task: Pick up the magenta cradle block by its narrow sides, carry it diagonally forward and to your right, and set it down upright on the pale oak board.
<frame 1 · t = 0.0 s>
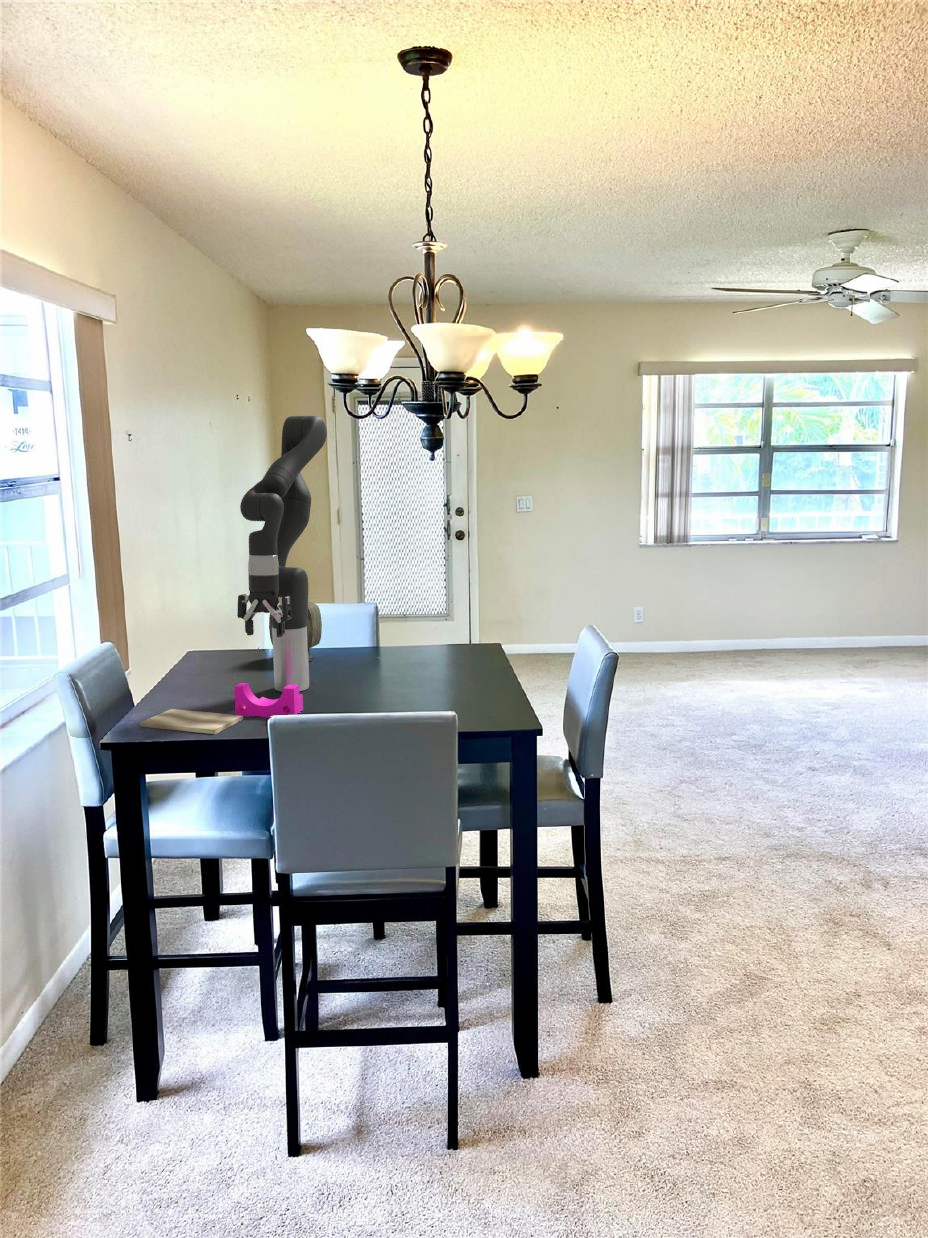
hand: (265, 635, 226), 17 cm above the table, tool pointing down, fingers open, 8 cm apart
tabletop clock: (297, 659, 278), on the table
oak board: (192, 723, 210), on the table
magenta cradle block: (269, 715, 218), on the table
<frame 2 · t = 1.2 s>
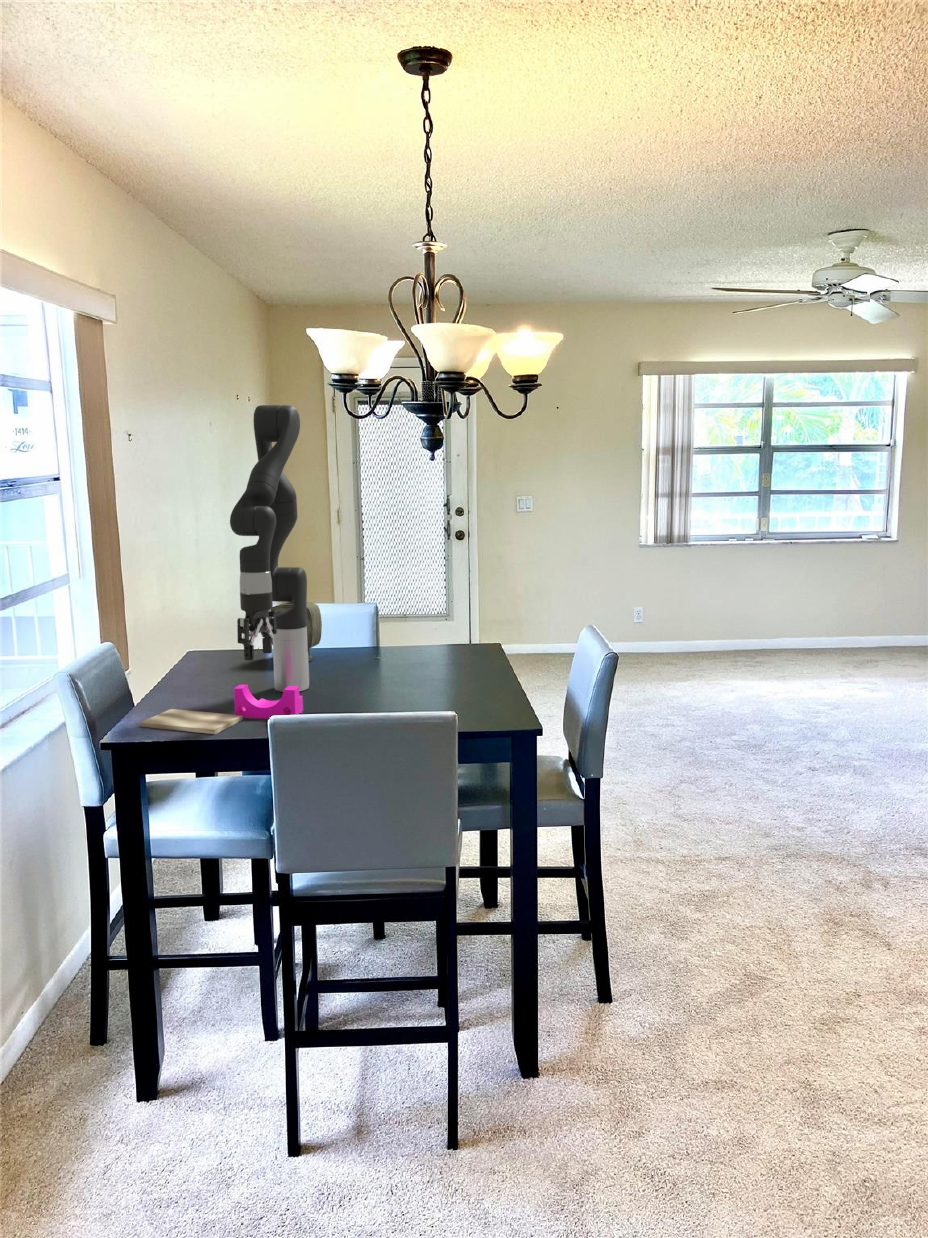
hand: (258, 656, 214), 15 cm above the table, tool pointing down, fingers open, 8 cm apart
magenta cradle block: (269, 716, 217), on the table
everything else where it was.
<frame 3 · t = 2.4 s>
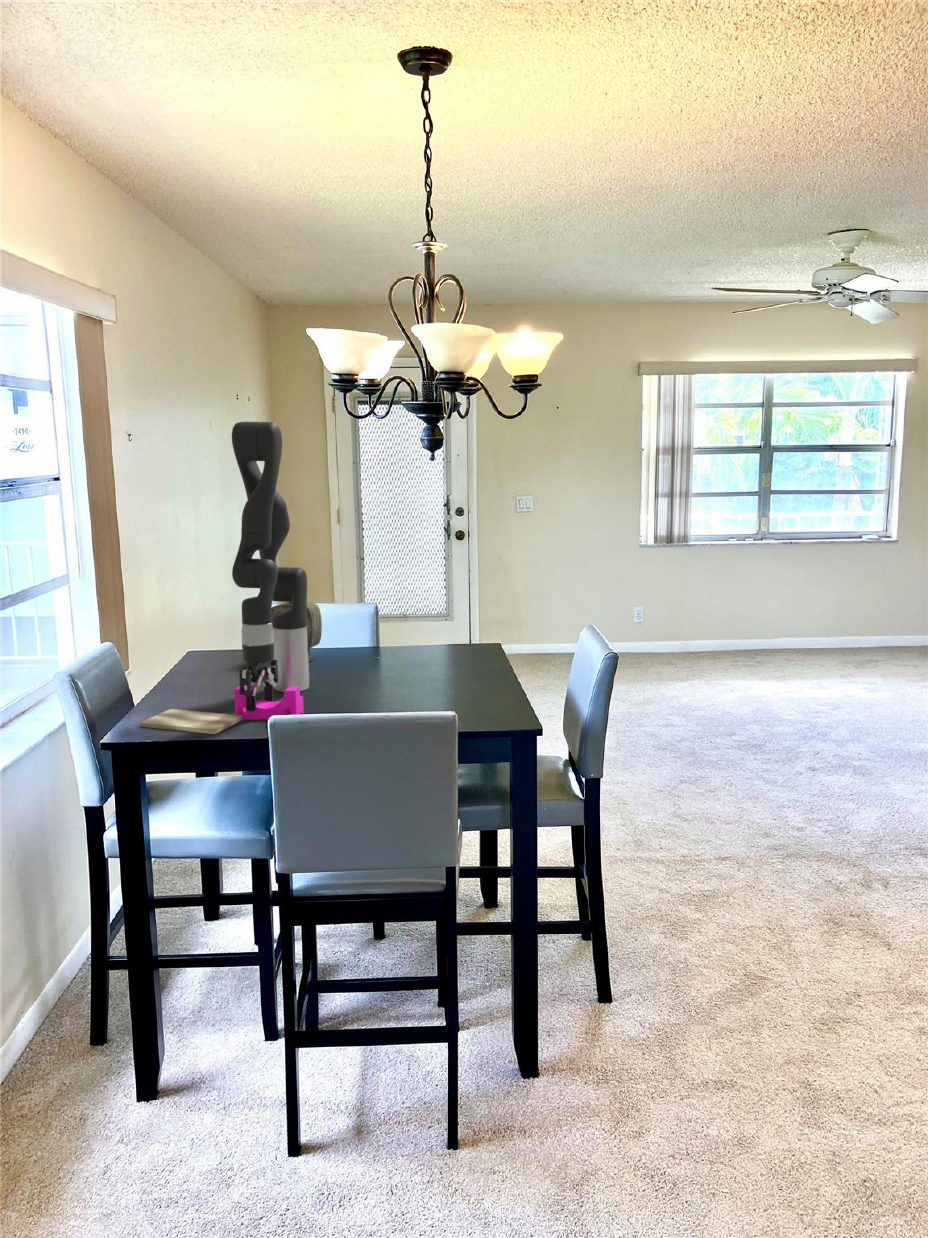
hand: (260, 706, 216), 2 cm above the table, tool pointing down, fingers open, 8 cm apart
magenta cradle block: (270, 717, 216), on the table, touching gripper
everything else where it was.
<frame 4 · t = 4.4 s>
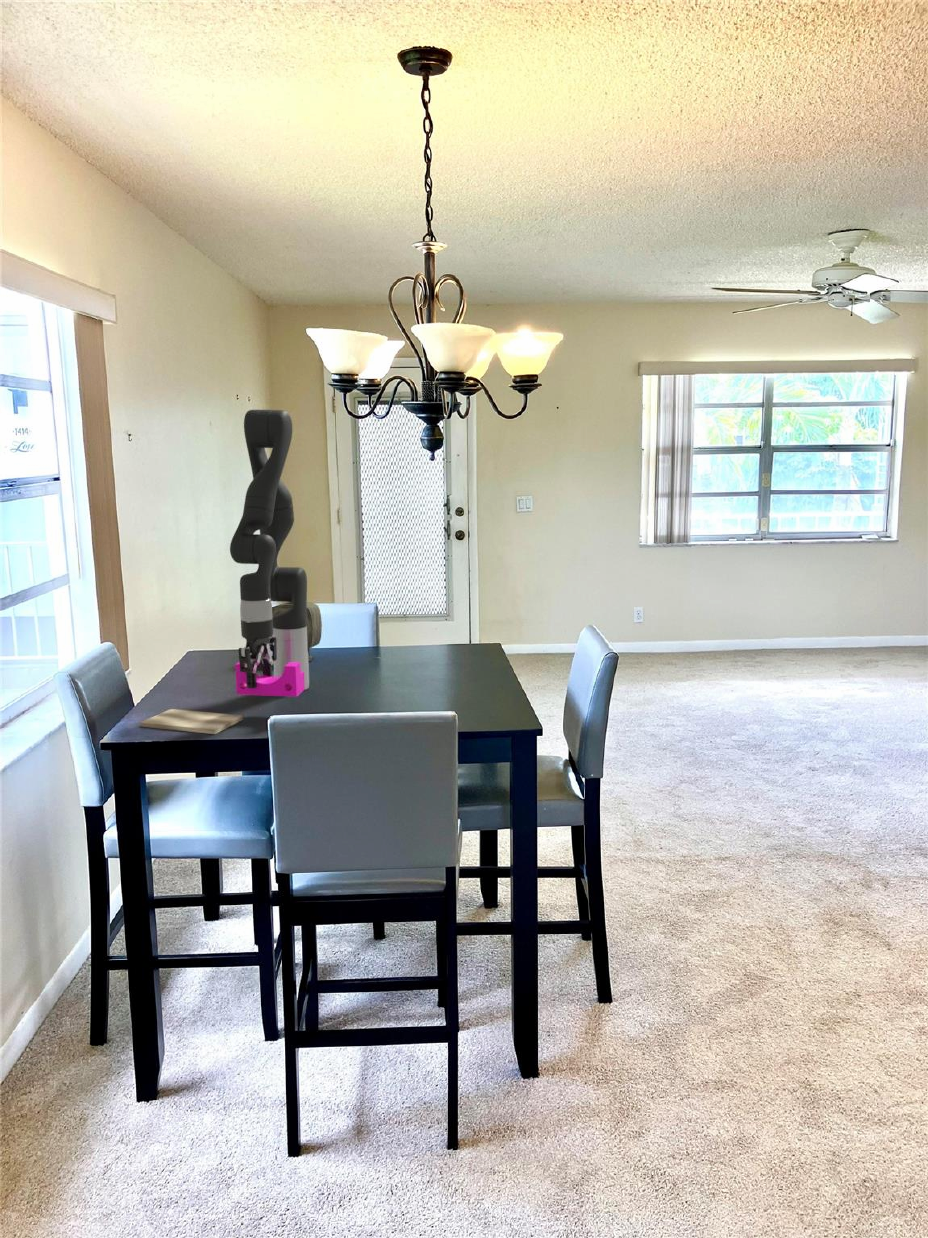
hand: (259, 683, 216), 8 cm above the table, tool pointing down, fingers closed on magenta cradle block, 7 cm apart
magenta cradle block: (271, 692, 216), point 6 cm above the table, touching gripper
everything else where it was.
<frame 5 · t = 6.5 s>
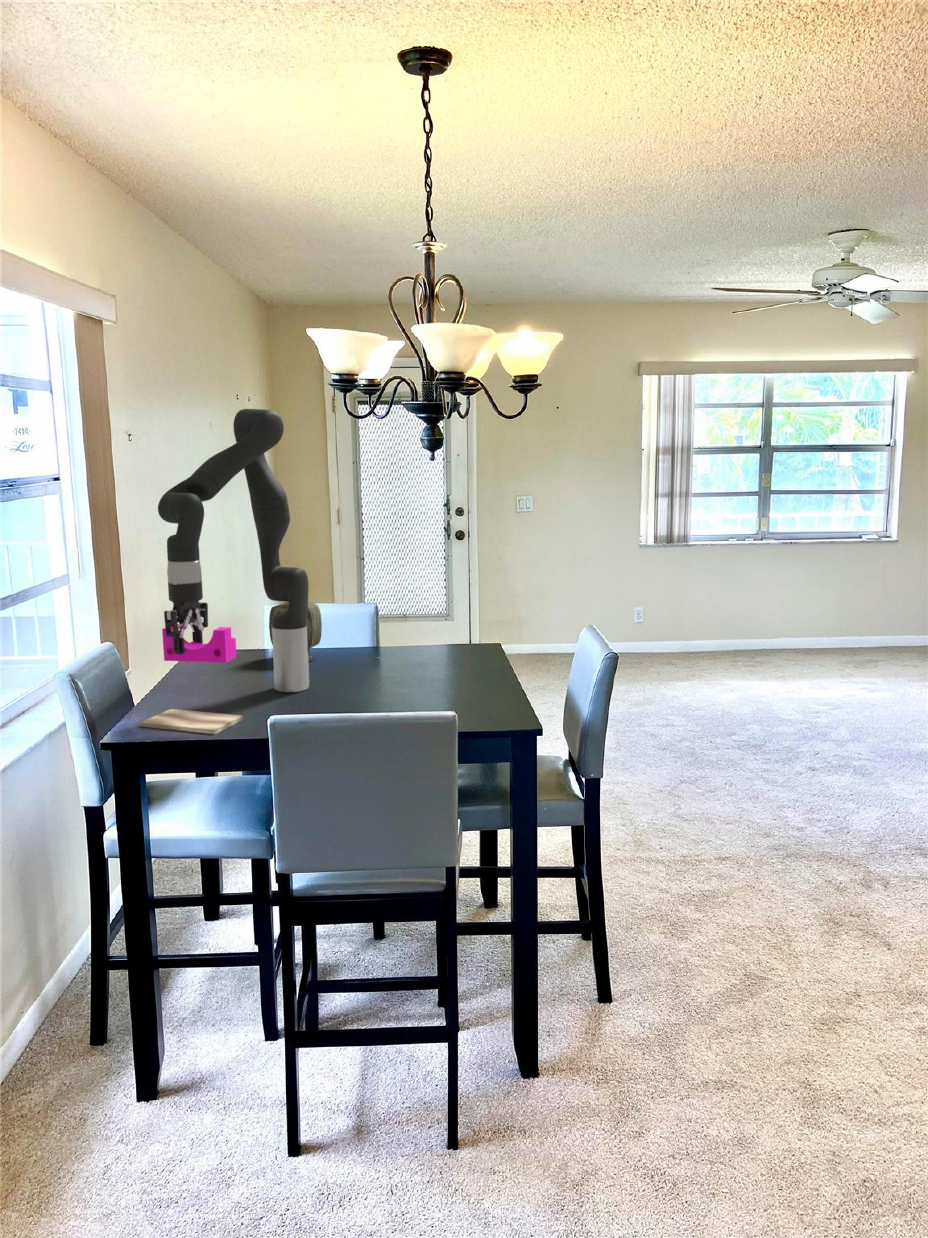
hand: (188, 650, 207), 18 cm above the table, tool pointing down, fingers closed on magenta cradle block, 7 cm apart
magenta cradle block: (200, 659, 207), point 16 cm above the table, touching gripper
everything else where it was.
when the fingers open (4 cm above the table, at t = 10.0 s): magenta cradle block drops 1 cm, resting on oak board.
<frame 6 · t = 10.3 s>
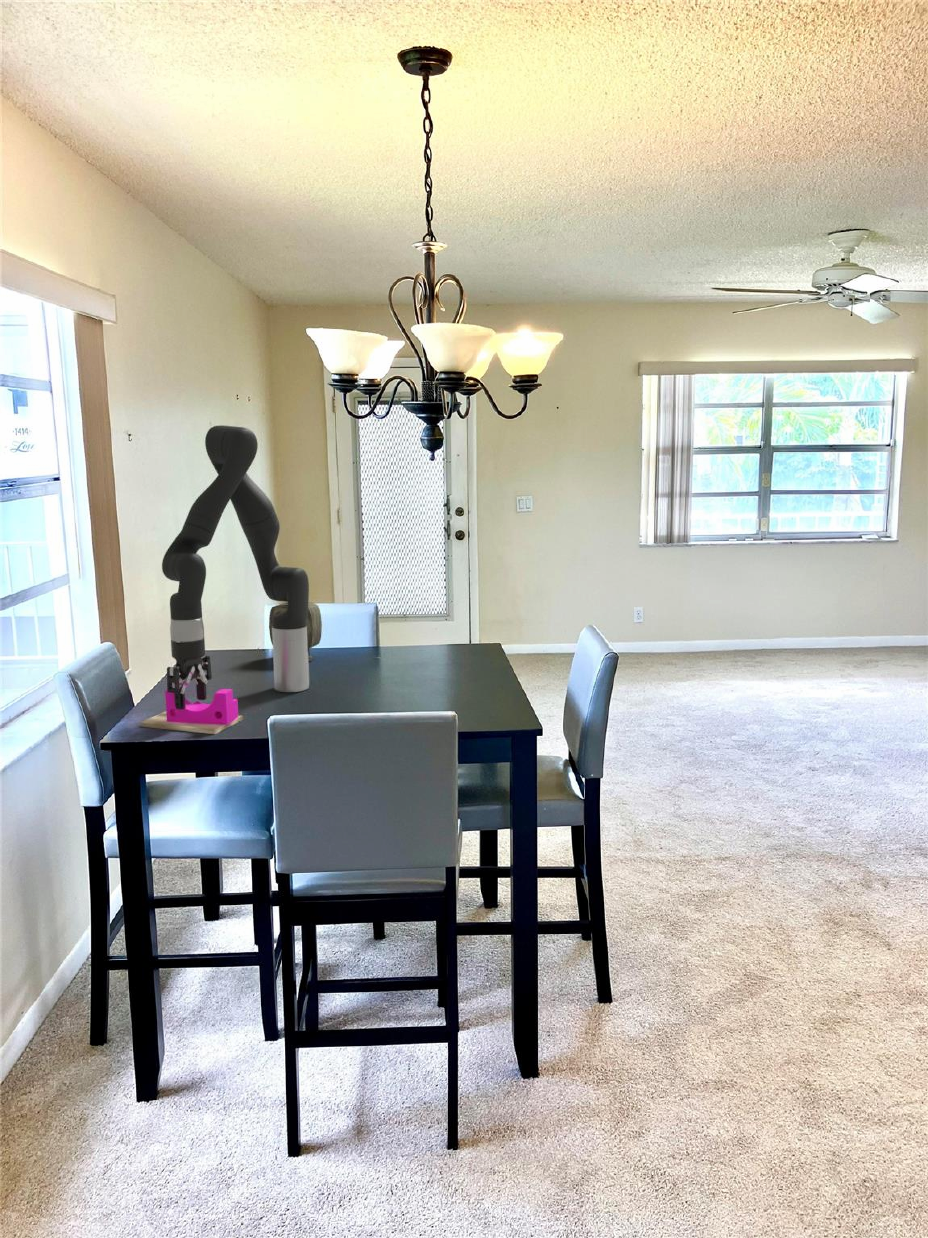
hand: (191, 704, 209), 5 cm above the table, tool pointing down, fingers open, 8 cm apart
magenta cradle block: (202, 720, 209), point 1 cm above the table, touching oak board
everything else where it was.
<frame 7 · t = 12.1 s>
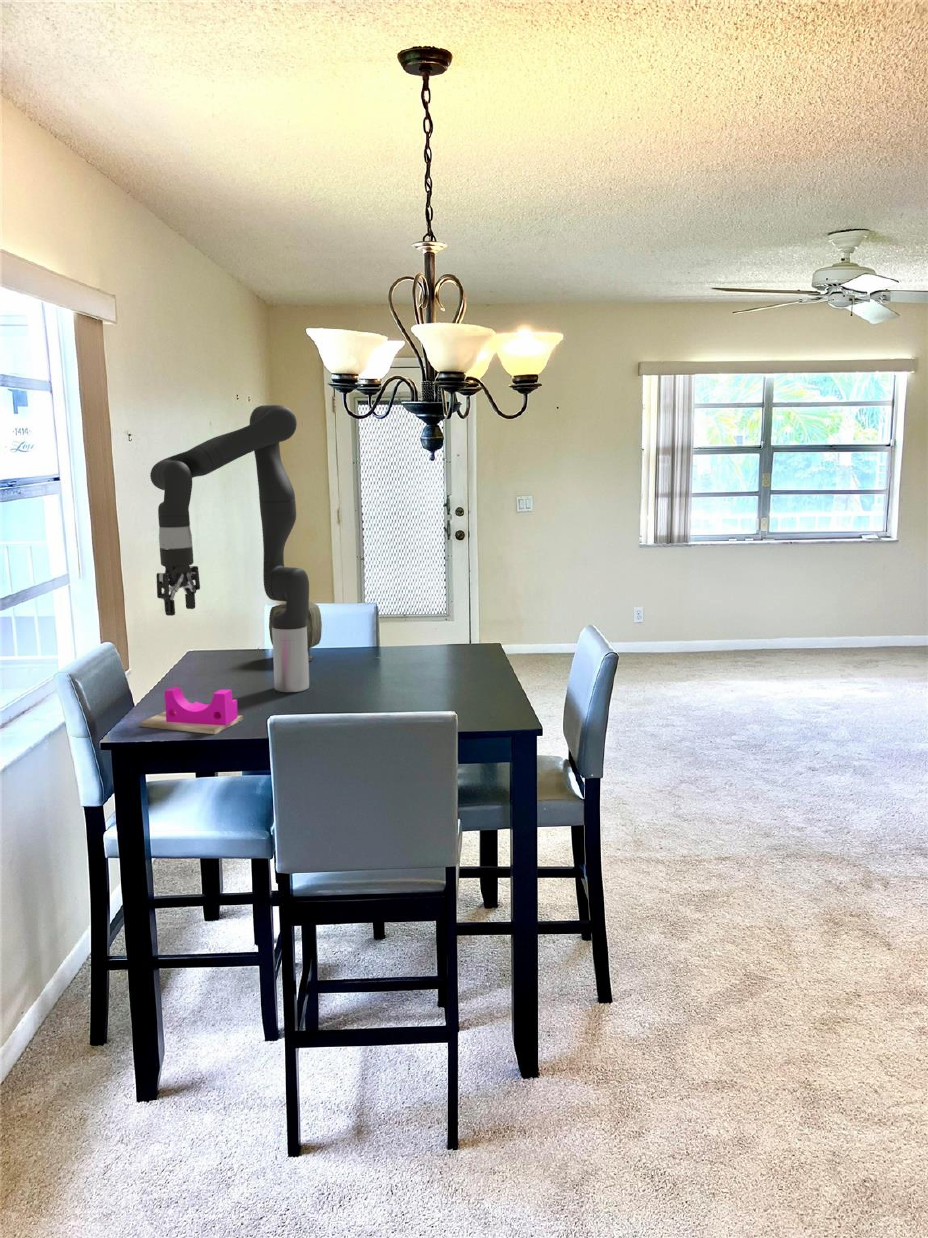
hand: (180, 611, 215), 25 cm above the table, tool pointing down, fingers open, 8 cm apart
nothing on the table moved.
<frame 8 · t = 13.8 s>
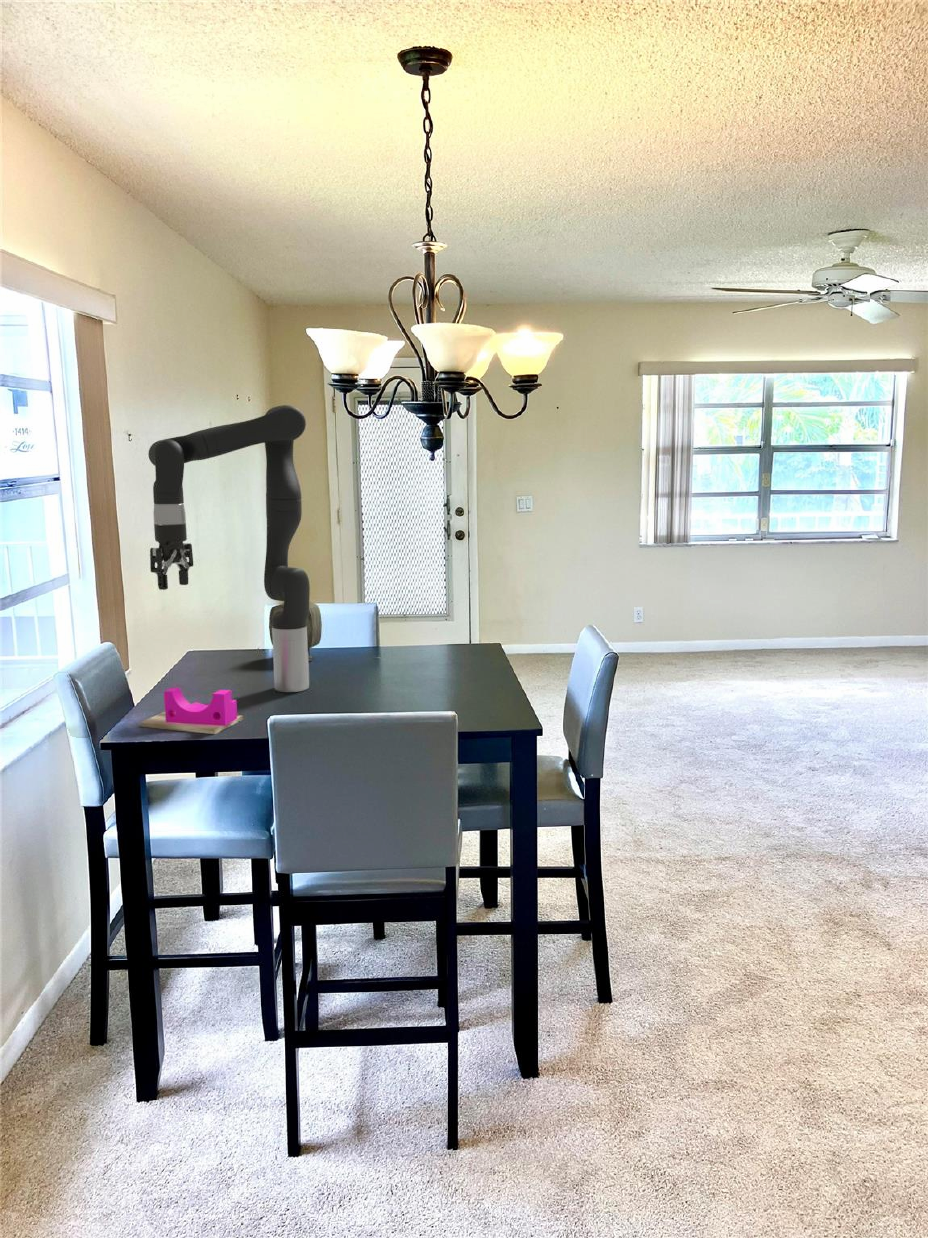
hand: (173, 587, 222), 30 cm above the table, tool pointing down, fingers open, 8 cm apart
nothing on the table moved.
at the end: magenta cradle block inside the target area on the oak board (2.8 cm from its centre), point 0.8 cm above the oak board's base; magenta cradle block tilted 0°; the gripper is holding nothing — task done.
